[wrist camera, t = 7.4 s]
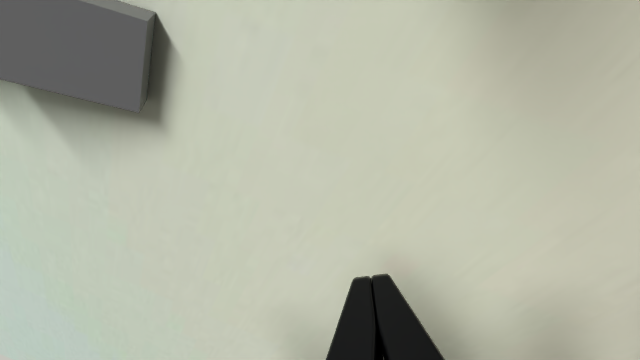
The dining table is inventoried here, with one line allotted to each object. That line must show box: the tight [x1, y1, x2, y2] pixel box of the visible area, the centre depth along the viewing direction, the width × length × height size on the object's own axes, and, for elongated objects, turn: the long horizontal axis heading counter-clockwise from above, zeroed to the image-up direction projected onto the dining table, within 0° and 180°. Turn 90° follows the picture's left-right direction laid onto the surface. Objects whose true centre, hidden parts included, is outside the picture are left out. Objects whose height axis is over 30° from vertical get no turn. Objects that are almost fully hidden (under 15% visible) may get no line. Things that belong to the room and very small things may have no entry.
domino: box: [0, 0, 156, 113], centre depth 19 cm, size 2×5×10 cm
